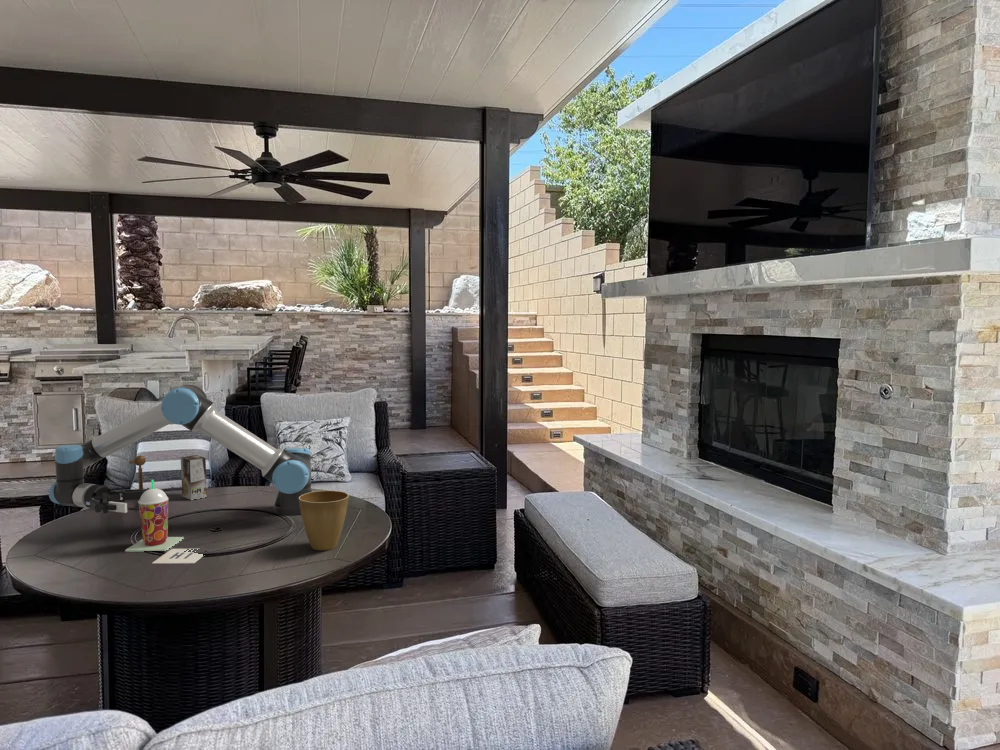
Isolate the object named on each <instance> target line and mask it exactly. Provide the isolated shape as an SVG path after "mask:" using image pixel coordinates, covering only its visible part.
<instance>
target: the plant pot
mask: <svg viewBox="0 0 1000 750" xmlns="http://www.w3.org/2000/svg"><path fill="white" fill-rule="evenodd" d="M349 495H350V494H349V493H348V492H344V491H340V490H318V491H312V492H310V493H306V494H303V495H301V496H299V504H300V510H301V514H300V516H301V520H302V523H303V526H304V531H305V533H306V536H307V539H308V541H309V544H310V547H311V549H313V550H315V551H329V550H334V549H335V548H336V547H337V545H338V543H339V540H340V538H341V534H342V532H343V531H342V530H343V527H344V524H345V519H346V515H347V510H348V506H349V505H348V503H349V497H350V496H349Z"/></svg>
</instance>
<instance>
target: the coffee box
mask: <svg viewBox="0 0 1000 750" xmlns="http://www.w3.org/2000/svg"><path fill="white" fill-rule="evenodd" d="M206 460H207V459H206V457H203V456H202V455H201V456H200V455H197V454H195V455H186V456H181V457H180V473H181V475H180V476H181V492H182V493H181V496H182V498H185V499H186V500H189V499H190V500H189V501H195V500H194V499H197V500H201V499H200V498H202V499H206V498H205V497H208V496H207V464H206V462H207V461H206Z"/></svg>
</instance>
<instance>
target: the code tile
mask: <svg viewBox="0 0 1000 750" xmlns="http://www.w3.org/2000/svg"><path fill="white" fill-rule="evenodd" d="M187 549H189V550H191V549H193V550H194V549H195V548H170V549H168V550H167V551H166V552H165V553H164V554H162V555H161V556H160V557H158V558H157V559H156V560H154V561H153V562H152V563H151V564H153V565H154V564H155V565H157V564H161V565H162V564H163V565H165V564H169V565H170V564H171V565H172V564H173V565H174V564H176V565H177V564H179V565H181V564H184V565H185V564H186V565H187V564H195V563H197V562H198V561H199V560H200V559H202V558H203V557H204V556H203V554H198V553H194V552H192V551H193V550H191V552H188V551H189V550H187ZM196 549H197V550H198V549H199V548H196ZM186 550H187V551H186ZM184 551H186V552H184ZM195 552H196V551H195Z"/></svg>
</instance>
